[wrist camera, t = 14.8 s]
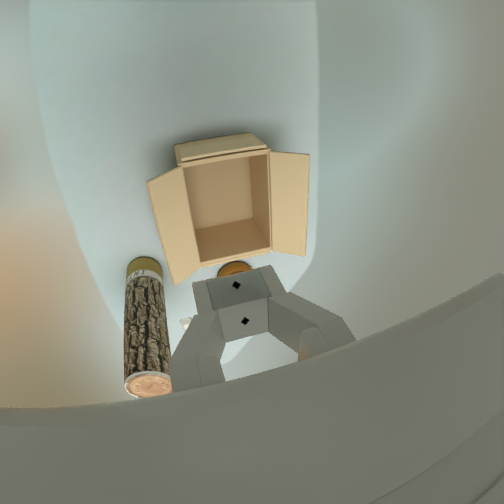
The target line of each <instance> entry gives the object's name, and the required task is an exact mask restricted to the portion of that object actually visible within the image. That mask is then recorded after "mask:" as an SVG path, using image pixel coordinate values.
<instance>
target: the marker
mask: <svg viewBox="0 0 504 504" xmlns="http://www.w3.org/2000/svg"><path fill="white" fill-rule="evenodd" d="M190 322H191V319H190V318H189V317H188V318H185V319H182V320H181V325H182V327H183V329H184V331H186V330H187V328H188V326H189V324H190Z"/></svg>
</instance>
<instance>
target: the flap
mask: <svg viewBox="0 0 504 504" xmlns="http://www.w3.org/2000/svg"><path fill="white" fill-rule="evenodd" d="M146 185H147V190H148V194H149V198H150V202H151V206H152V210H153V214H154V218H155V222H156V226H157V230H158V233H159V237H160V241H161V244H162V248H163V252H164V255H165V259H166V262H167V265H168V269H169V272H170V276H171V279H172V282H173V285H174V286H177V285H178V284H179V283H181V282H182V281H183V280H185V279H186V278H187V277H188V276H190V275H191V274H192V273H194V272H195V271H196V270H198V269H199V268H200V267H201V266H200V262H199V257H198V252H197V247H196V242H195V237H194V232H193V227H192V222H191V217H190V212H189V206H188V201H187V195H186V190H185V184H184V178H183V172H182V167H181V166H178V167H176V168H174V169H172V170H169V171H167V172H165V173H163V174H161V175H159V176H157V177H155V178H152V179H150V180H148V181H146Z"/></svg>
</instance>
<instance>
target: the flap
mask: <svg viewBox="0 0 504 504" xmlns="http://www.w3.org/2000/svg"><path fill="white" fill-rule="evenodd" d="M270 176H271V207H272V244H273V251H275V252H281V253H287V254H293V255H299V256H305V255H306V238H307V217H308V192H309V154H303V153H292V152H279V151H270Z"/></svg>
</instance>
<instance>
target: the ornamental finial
mask: <svg viewBox="0 0 504 504" xmlns="http://www.w3.org/2000/svg"><path fill="white" fill-rule="evenodd" d="M248 270H252V269H251V267H250V266H249V265H247V264H245V263H242V262H233V263H230V264H227V265H226V266H224V267H223V268H222V269H221V270H220V272H219V274H218V276H217V277H222V276H227V275H232V274H236V273H240V272H244V271H248Z"/></svg>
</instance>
